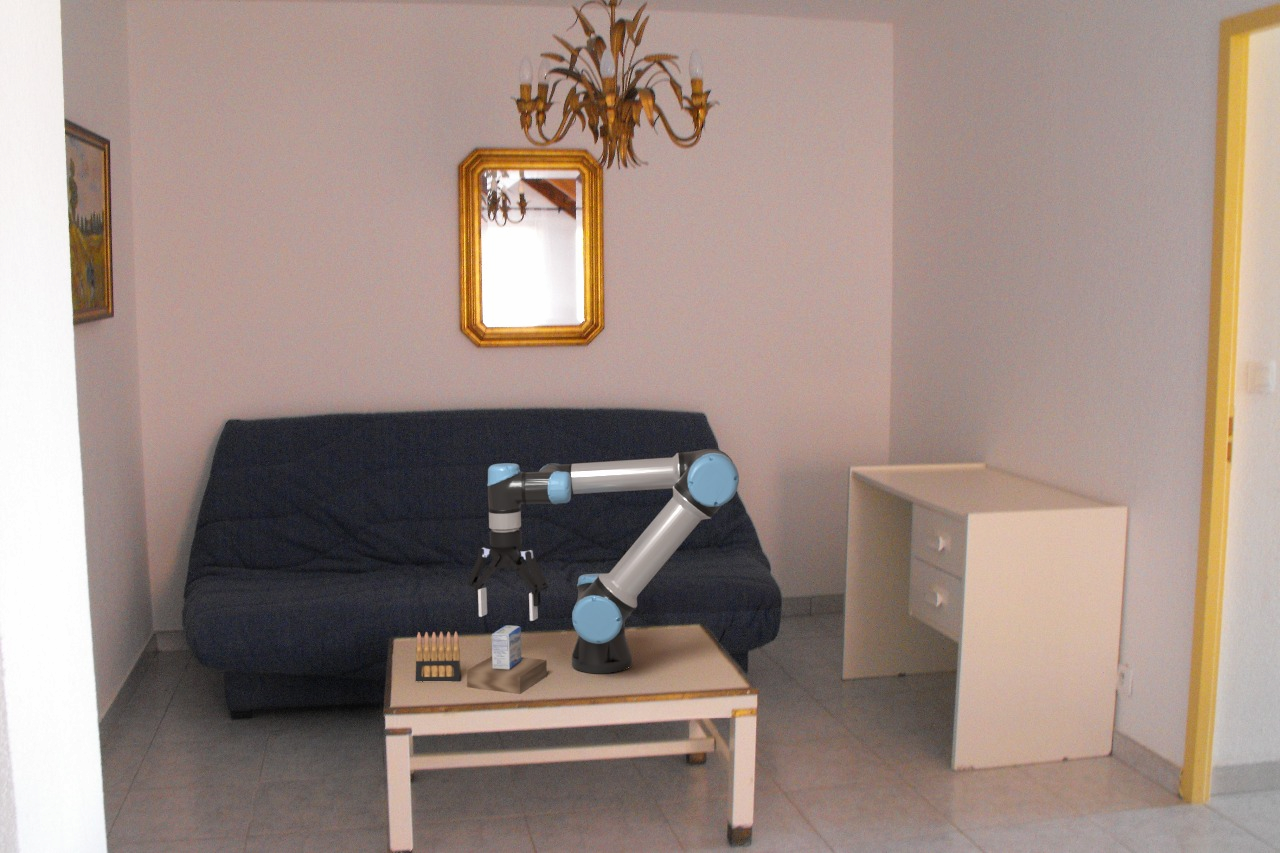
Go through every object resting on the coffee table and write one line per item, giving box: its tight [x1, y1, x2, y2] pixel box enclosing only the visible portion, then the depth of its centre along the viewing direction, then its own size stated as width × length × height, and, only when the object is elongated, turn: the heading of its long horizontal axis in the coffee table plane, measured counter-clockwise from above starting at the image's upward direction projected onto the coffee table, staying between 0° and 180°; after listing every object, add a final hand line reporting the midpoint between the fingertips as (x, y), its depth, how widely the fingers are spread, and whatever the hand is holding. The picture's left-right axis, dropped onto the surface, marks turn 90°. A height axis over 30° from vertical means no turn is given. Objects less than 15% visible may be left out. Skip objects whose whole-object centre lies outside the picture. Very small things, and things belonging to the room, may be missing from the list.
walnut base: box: [466, 655, 548, 695], centre depth 268 cm, size 14×14×4 cm
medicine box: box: [491, 625, 522, 670], centre depth 268 cm, size 8×4×9 cm, turn 165°
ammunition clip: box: [415, 631, 462, 683], centre depth 269 cm, size 11×2×12 cm, turn 92°
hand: (508, 617), depth 267 cm, fingers open, 13 cm apart
